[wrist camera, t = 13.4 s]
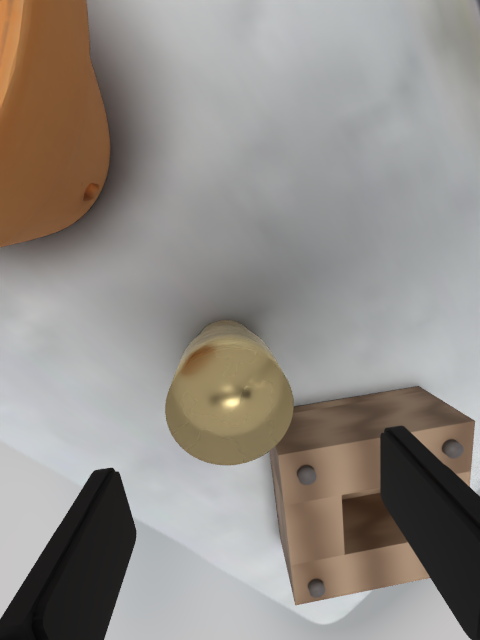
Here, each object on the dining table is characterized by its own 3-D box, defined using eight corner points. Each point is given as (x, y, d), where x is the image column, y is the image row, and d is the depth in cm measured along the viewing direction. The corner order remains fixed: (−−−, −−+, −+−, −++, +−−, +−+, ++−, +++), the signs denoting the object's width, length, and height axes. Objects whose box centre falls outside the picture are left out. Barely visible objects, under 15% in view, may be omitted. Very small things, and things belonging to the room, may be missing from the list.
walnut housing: (418, 386, 27) (481, 424, 20) (415, 511, 30) (467, 577, 24) (264, 411, 26) (279, 460, 20) (280, 537, 30) (297, 612, 23)
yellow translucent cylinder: (258, 307, 24) (287, 339, 14) (266, 378, 25) (298, 453, 15) (180, 318, 23) (153, 360, 13) (194, 389, 25) (178, 474, 15)
